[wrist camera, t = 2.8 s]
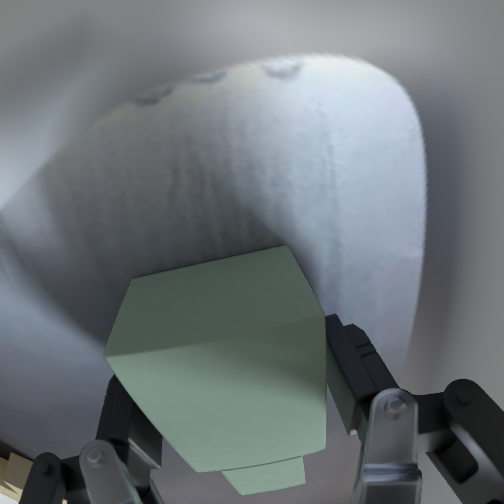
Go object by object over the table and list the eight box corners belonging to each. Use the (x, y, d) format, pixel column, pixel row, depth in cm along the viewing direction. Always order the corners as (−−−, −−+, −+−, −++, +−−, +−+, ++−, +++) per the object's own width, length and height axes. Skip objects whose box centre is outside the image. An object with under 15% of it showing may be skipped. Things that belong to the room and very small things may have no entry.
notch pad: (-48, 417, 13) (-59, 442, 10) (46, 466, 15) (39, 497, 12) (-9, 464, 17) (-14, 484, 14) (71, 499, 20) (68, 521, 17)
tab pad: (130, 277, 9) (100, 356, 6) (287, 243, 9) (326, 312, 6) (217, 443, 14) (222, 497, 11) (307, 425, 14) (324, 478, 11)
